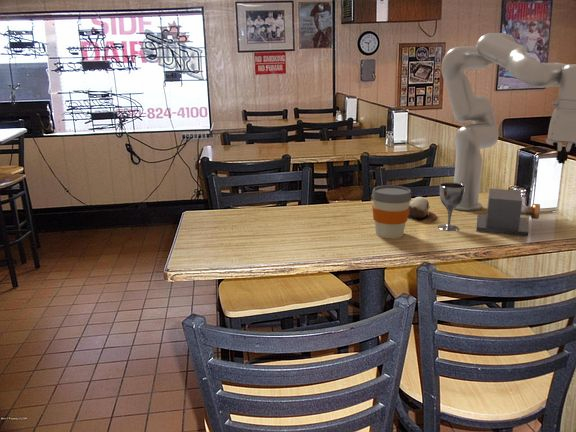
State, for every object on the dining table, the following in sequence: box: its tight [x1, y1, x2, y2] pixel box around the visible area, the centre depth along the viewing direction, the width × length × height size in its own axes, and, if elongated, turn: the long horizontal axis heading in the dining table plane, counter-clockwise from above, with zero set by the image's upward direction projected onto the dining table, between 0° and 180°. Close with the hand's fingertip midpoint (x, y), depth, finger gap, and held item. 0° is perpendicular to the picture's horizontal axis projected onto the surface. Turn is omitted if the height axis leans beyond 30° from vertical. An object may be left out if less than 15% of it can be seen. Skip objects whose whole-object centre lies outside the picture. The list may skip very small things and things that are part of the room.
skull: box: [407, 196, 437, 223], centre depth 197 cm, size 12×10×10 cm
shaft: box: [486, 203, 541, 220], centre depth 183 cm, size 16×5×5 cm, turn 70°
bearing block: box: [475, 188, 530, 238], centre depth 184 cm, size 16×16×12 cm
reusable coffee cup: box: [371, 184, 412, 239], centre depth 177 cm, size 12×13×15 cm
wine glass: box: [437, 181, 465, 232], centre depth 183 cm, size 8×8×15 cm
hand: (561, 162), depth 174 cm, fingers closed
